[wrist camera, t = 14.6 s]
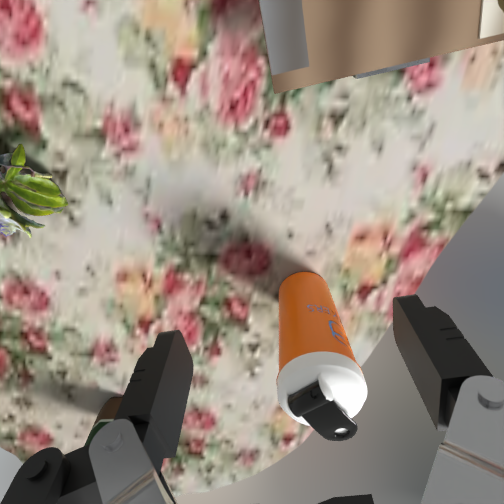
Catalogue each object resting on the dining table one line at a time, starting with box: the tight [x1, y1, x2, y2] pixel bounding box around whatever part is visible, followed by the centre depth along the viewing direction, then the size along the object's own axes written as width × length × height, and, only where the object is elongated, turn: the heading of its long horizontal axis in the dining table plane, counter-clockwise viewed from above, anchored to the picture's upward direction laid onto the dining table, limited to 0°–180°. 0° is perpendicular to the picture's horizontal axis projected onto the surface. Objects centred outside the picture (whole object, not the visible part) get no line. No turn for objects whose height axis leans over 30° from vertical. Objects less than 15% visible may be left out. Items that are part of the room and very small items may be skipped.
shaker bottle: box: [277, 272, 367, 441], centre depth 40 cm, size 9×9×20 cm
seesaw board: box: [259, 0, 504, 94], centre depth 26 cm, size 24×8×3 cm, turn 102°
